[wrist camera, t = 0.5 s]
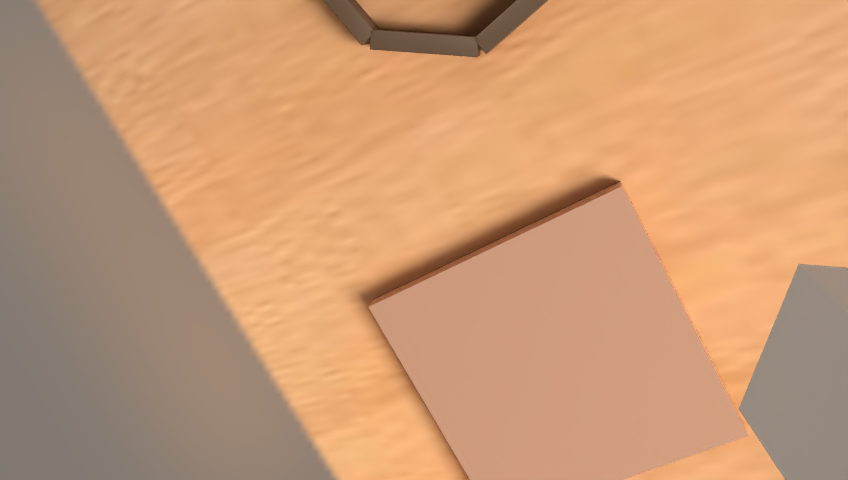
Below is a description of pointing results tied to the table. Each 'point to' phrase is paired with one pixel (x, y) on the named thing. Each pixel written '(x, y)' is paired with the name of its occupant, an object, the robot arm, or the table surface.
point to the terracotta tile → (561, 352)
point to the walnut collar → (432, 43)
